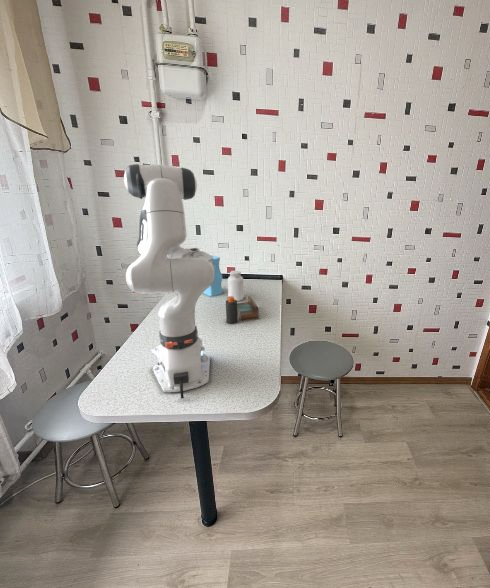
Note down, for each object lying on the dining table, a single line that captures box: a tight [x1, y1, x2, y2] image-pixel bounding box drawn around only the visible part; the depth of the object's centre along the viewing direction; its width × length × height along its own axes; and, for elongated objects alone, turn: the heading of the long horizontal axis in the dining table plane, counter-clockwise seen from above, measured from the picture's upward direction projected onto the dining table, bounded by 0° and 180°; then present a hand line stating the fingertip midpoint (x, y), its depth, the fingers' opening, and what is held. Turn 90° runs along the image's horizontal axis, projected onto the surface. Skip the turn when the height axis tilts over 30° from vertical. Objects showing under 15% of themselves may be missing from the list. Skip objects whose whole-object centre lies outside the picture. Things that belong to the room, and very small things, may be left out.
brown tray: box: [237, 295, 259, 322], centre depth 158 cm, size 14×8×6 cm, turn 26°
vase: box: [202, 254, 224, 297], centre depth 178 cm, size 8×8×20 cm
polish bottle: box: [225, 296, 239, 325], centre depth 149 cm, size 5×5×12 cm
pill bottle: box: [227, 270, 245, 302], centre depth 173 cm, size 8×8×15 cm
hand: (207, 272), depth 147 cm, fingers open, 8 cm apart
